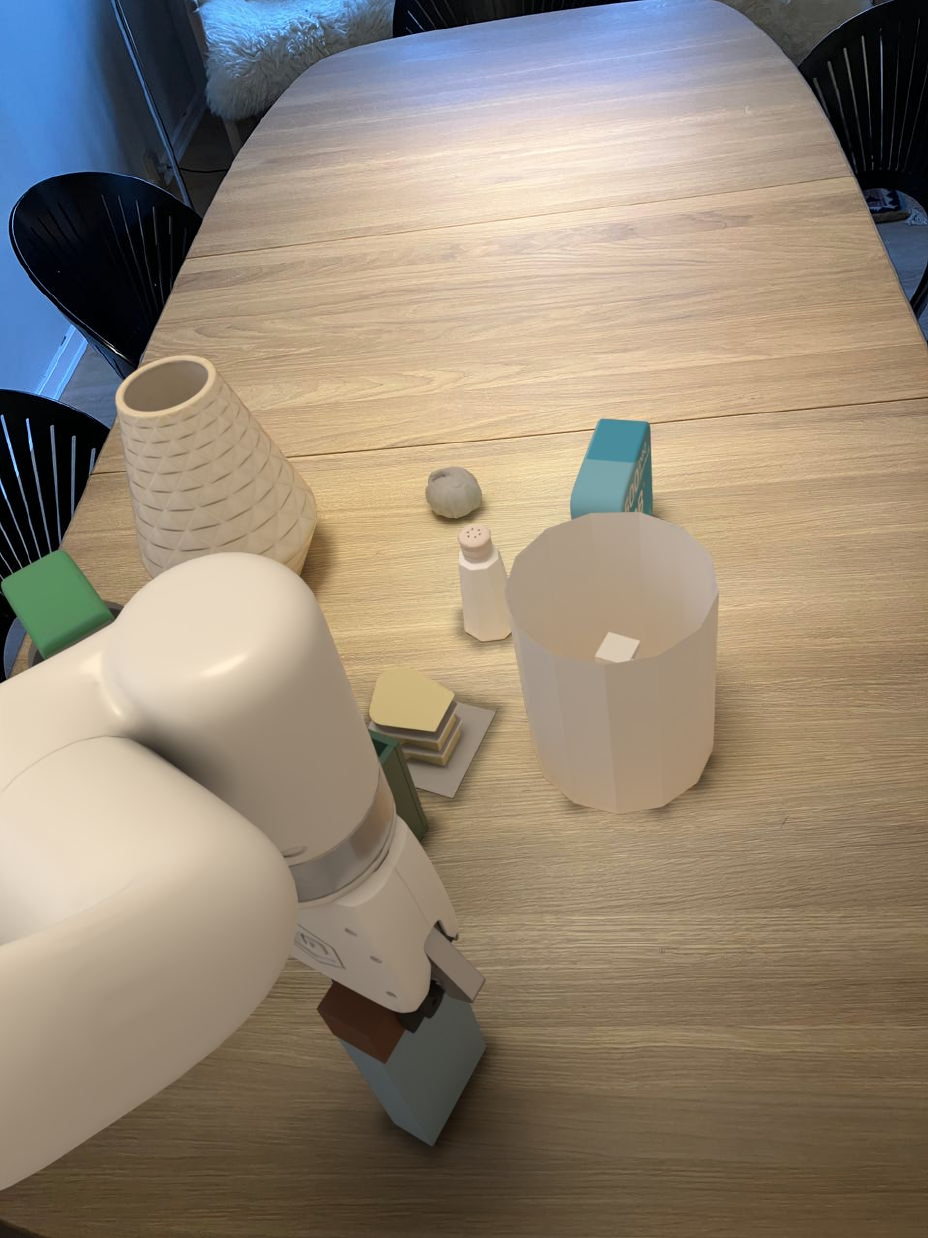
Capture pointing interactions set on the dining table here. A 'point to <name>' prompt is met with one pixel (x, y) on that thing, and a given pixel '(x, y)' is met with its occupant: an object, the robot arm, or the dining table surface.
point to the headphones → (56, 605)
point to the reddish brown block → (361, 1021)
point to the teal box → (615, 470)
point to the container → (617, 657)
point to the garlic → (453, 492)
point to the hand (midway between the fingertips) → (391, 987)
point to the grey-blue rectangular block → (426, 1069)
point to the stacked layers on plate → (428, 727)
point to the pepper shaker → (482, 585)
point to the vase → (206, 471)
